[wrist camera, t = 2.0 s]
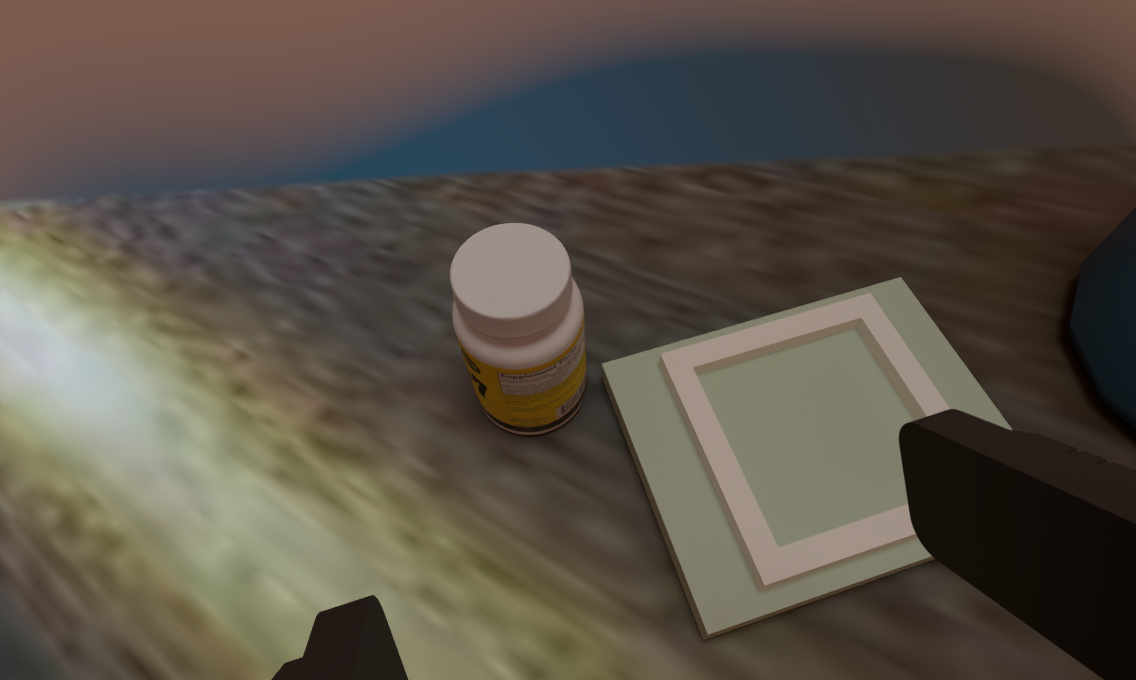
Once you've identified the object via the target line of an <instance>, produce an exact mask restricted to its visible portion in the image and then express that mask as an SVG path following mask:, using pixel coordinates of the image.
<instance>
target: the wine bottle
mask: <svg viewBox="0 0 1136 680" xmlns="http://www.w3.org/2000/svg"><path fill="white" fill-rule="evenodd" d="M1068 335H1069V338H1070V340H1071V342H1072V344H1073V346H1074V348H1075V350H1076V352H1077V354H1078V356H1079V358H1080V360H1081V362H1082V364H1083V366H1084V368H1085V370H1086V372H1087V374H1088V376H1089V378H1090V380H1091V382H1092V384H1093V386H1094V388H1095V390H1096V392H1097V394H1098V396H1099V398H1100V400H1101V402H1103V403H1104V404H1105V405H1106V406H1107V407H1108V408H1110V409H1111V410H1112V411H1113V412H1114V413H1116V414H1117V415H1118V416H1119V417H1120V418H1121V419H1123V420H1124V421H1125V422H1126V423H1127V424H1128V425H1130V426H1131V427H1132V428H1133V429H1134V430H1136V208H1135V209H1134V210H1133V211H1132V212H1131V213H1130V214H1129V215H1128V216H1127V217H1126V218H1125V219H1124V220H1123V221H1122V222H1121V223H1120V224H1119V225H1118V226H1117V227H1116V229H1115V230H1114V231H1113V232H1112V233H1111V234H1110V235H1109V236H1108V237H1107V238H1106V239H1105V240H1104V241H1103V242H1102V243H1101V244H1100V245H1099V246H1098V247H1097V248H1096V249H1095V250H1094V251H1093V252H1092V253H1091V254H1090V256H1089V257H1088V258H1087V259H1086V260H1085V261H1084V262H1083V263H1082V265H1081V270H1080V275H1079V280H1078V285H1077V290H1076V295H1075V300H1074V305H1073V310H1072V315H1071V320H1070V326H1069V331H1068Z"/></svg>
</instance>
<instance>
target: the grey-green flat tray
mask: <svg viewBox="0 0 1136 680" xmlns="http://www.w3.org/2000/svg"><path fill="white" fill-rule="evenodd" d="M602 380H603V383H604V385H605V388H606V390H607V393H608V395H609V398H610V401H611V403H612V406H613V408H614V411H615V414H616V416H617V419H618V421H619V424H620V426H621V429H622V432H623V434H624V437H625V439H626V442H627V445H628V447H629V450H630V452H631V455H632V458H633V460H634V463H635V465H636V468H637V470H638V473H639V476H640V478H641V481H642V483H643V486H644V489H645V491H646V494H647V496H648V499H649V501H650V504H651V507H652V509H653V512H654V514H655V517H656V520H657V522H658V525H659V527H660V530H661V533H662V535H663V538H664V540H665V543H666V545H667V548H668V551H669V553H670V556H671V558H672V561H673V564H674V566H675V569H676V571H677V574H678V576H679V579H680V582H681V584H682V587H683V589H684V592H685V595H686V597H687V600H688V602H689V605H690V608H691V610H692V613H693V615H694V618H695V620H696V623H697V626H698V628H699V631H700V633H701V636H702V639H703V640H706V639H708V638H711V637H714V636H717V635H720V634H723V633H726V632H728V631H731V630H734V629H737V628H740V627H743V626H745V625H748V624H751V623H754V622H757V621H760V620H763V619H765V618H768V617H771V616H774V615H777V614H780V613H783V612H785V611H788V610H791V609H794V608H797V607H800V606H802V605H805V604H808V603H811V602H814V601H817V600H820V599H822V598H825V597H828V596H831V595H834V594H837V593H839V592H842V591H845V590H848V589H851V588H854V587H857V586H859V585H862V584H865V583H868V582H871V581H874V580H876V579H879V578H882V577H885V576H888V575H891V574H894V573H896V572H899V571H902V570H905V569H908V568H911V567H914V566H916V565H919V564H922V563H925V562H928V561H931V560H933V559H935V558H934V557H932V556H931V555H930V554H929V553H928V551H927V550H926V549H925V548H924V546H923V545H922V544H921V542H920V540H919V539H918V537H917V535H916V533H915V531H914V528H913V526H912V523H911V519H910V514H909V507H908V500H907V494H906V487H905V480H904V474H903V467H902V460H901V454H900V447H899V432H900V429H901V427H902V426H903V425H904V424H906V423H908V422H911V421H915V420H918V419H921V418H924V417H927V416H930V415H933V414H936V413H939V412H942V411H945V410H949V409H957V410H960V411H963V412H965V413H968V414H970V415H973V416H976V417H978V418H981V419H983V420H986V421H988V422H991V423H994V424H996V425H999V426H1001V427H1004V428H1006V429H1009V430H1012V429H1011V427H1010V426H1009V424H1008V423H1007V422H1006V420H1005V419H1004V418H1003V416H1002V415H1001V414H1000V412H999V411H998V409H997V408H996V407H995V405H994V404H993V403H992V401H991V400H990V398H989V397H988V396H987V394H986V393H985V392H984V390H983V389H982V388H981V386H980V385H979V383H978V382H977V381H976V379H975V378H974V377H973V375H972V374H971V373H970V371H969V370H968V368H967V367H966V366H965V364H964V363H963V362H962V360H961V359H960V357H959V356H958V355H957V353H956V352H955V351H954V349H953V348H952V347H951V345H950V344H949V342H948V341H947V340H946V338H945V337H944V336H943V334H942V333H941V331H940V330H939V329H938V327H937V326H936V325H935V323H934V322H933V321H932V319H931V318H930V316H929V315H928V314H927V312H926V311H925V310H924V308H923V307H922V305H921V304H920V303H919V301H918V300H917V299H916V297H915V296H914V295H913V293H912V292H911V290H910V289H909V288H908V286H907V285H906V284H905V282H904V281H903V280H902V278H901V277H900V278H896V279H893V280H889V281H886V282H883V283H879V284H876V285H872V286H869V287H865V288H862V289H858V290H855V291H851V292H848V293H845V294H841V295H838V296H834V297H831V298H827V299H824V300H820V301H817V302H813V303H810V304H807V305H803V306H800V307H796V308H793V309H789V310H786V311H782V312H779V313H776V314H772V315H769V316H765V317H762V318H758V319H755V320H751V321H748V322H744V323H741V324H738V325H734V326H731V327H727V328H724V329H720V330H717V331H713V332H710V333H706V334H703V335H700V336H696V337H693V338H689V339H686V340H682V341H679V342H675V343H672V344H669V345H665V346H662V347H658V348H655V349H651V350H648V351H644V352H641V353H637V354H634V355H631V356H627V357H624V358H620V359H617V360H613V361H610V362H606V363H603V364H602Z"/></svg>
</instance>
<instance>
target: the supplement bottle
mask: <svg viewBox="0 0 1136 680" xmlns="http://www.w3.org/2000/svg"><path fill="white" fill-rule="evenodd" d="M450 281H451V286H452V290H453V296H454V303H453V311H452V317H453V325H454V330H455V333H456V336H457V339H458V342H459V345H460V348H461V350H462V354H463V357H464V360H465V363H466V366H467V368H468V371H469V374H470V377H471V380H472V383H473V386H474V389H475V392H476V394H477V397H478V400H479V402H480V405H481V407H482V409H483V411H484V412H485V414H486V415H487V416H488V417H489V418H490V419H491V420H492V421H493V422H494V423H495V424H496V425H498V426H499V427H501V428H503V429H505V430H507V431H510V432H513V433H516V434H522V435H536V434H542V433H546V432H549V431H552V430H554V429H556V428H558V427H560V426H562V425H563V424H565V423H566V422H567V421H569V420H570V419H571V418H572V417H573V416H574V415H575V413H576V412H577V411H578V409H579V408H580V406H581V404H582V402H583V399H584V396H585V392H586V383H587V373H586V358H585V329H584V307H583V301H582V296H581V294H580V291H579V289H578V287H577V285H576V283H575V281H574V280H573V278H572V274H571V264H570V260H569V256H568V254H567V251H566V250H565V248H564V246H563V245H562V244H561V242H560V241H559V240H558V239H557V238H556V237H555V236H553V235H552V234H550V233H549V232H547V231H545V230H543V229H541V228H539V227H536V226H532V225H528V224H521V223H507V224H500V225H495V226H492V227H489V228H486V229H484V230H482V231H480V232H478V233H476V234H474V235H473V236H472V237H470V238H469V239H468V240H467V241H466V242H465V243H464V244H463V245H462V246H461V247H460V248H459V250H458V251H457V253H456V254H455V256H454V259H453V261H452V265H451V270H450Z"/></svg>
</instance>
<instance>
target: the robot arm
mask: <svg viewBox="0 0 1136 680" xmlns="http://www.w3.org/2000/svg"><path fill="white" fill-rule="evenodd" d="M899 447H900V454H901V460H902V467H903V474H904V480H905V487H906V494H907V500H908V507H909V514H910V519H911V523H912V526H913V528H914V531H915V533H916V535H917V537H918V539H919V540H920V542H921V544H922V545H923V546H924V548H925V549H926V550H927V551H928V553H929V554H930V555H931V556H932V557H934V558H935V559H936V560H937V561H939V562H940V563H942V564H943V565H944V566H946V567H947V568H949V569H950V570H951V571H953V572H954V573H956V574H957V575H958V576H960V577H961V578H963V579H964V580H965V581H967V582H968V583H970V584H971V585H972V586H974V587H975V588H977V589H978V590H979V591H981V592H982V593H984V594H985V595H986V596H988V597H989V598H991V599H992V600H993V601H995V602H996V603H998V604H999V605H1000V606H1002V607H1003V608H1005V609H1006V610H1007V611H1009V612H1010V613H1012V614H1013V615H1014V616H1016V617H1017V618H1019V619H1020V620H1021V621H1023V622H1024V623H1026V624H1027V625H1028V626H1030V627H1031V628H1033V629H1034V630H1035V631H1037V632H1038V633H1040V634H1041V635H1042V636H1044V637H1045V638H1047V639H1048V640H1049V641H1051V642H1052V643H1054V644H1055V645H1056V646H1058V647H1059V648H1061V649H1062V650H1063V651H1065V652H1066V653H1068V654H1069V655H1070V656H1072V657H1073V658H1075V659H1076V660H1077V661H1079V662H1080V663H1082V664H1083V665H1084V666H1086V667H1087V668H1089V669H1090V670H1091V671H1093V672H1094V673H1096V674H1097V675H1098V676H1100V677H1101V678H1103V679H1104V680H1136V471H1135V470H1132V469H1129V468H1127V467H1124V466H1121V465H1119V464H1116V463H1111V464H1108V463H1107V462H1106V459H1103V458H1100V457H1098V456H1095V455H1092V454H1090V453H1087V452H1084V451H1082V452H1078V451H1077V450H1076V448H1074V447H1071V446H1069V445H1066V444H1063V443H1061V442H1058V441H1055V440H1053V439H1050V438H1047V437H1045V436H1042V435H1038V434H1032V433H1026V432H1020V431H1014V430H1009V429H1006V428H1004V427H1001V426H999V425H996V424H994V423H991V422H988V421H986V420H983V419H981V418H978V417H976V416H973V415H970V414H968V413H965V412H963V411H960V410H957V409H949V410H945V411H942V412H939V413H936V414H933V415H930V416H927V417H924V418H921V419H918V420H915V421H911V422H908V423H906V424H904V425H903V426H902V427H901V429H900V432H899ZM272 680H408V678H407V675H406V672H405V669H404V666H403V664H402V661H401V658H400V655H399V653H398V650H397V647H396V644H395V642H394V639H393V636H392V633H391V630H390V628H389V625H388V622H387V619H386V617H385V614H384V611H383V609H382V606H381V604H380V602H379V601H378V599H377V598H376V597H375V596H374V595H371V596H368V597H365V598H362V599H359V600H356V601H353V602H350V603H347V604H343V605H340V606H337V607H334V608H331V609H328V610H325V611H322V612H320V613H318V615H317V616H316V619H315V622H314V625H313V628H312V631H311V634H310V637H309V640H308V643H307V646H306V649H305V652H304V655H303V657H302V658H299V659H296V660H293V661H290V662H287V663H285V664H284V665H283V666H282V667H281V669H280V670H279V671H278V672H277V673H276V675H275V676H274V677H273V678H272Z"/></svg>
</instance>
